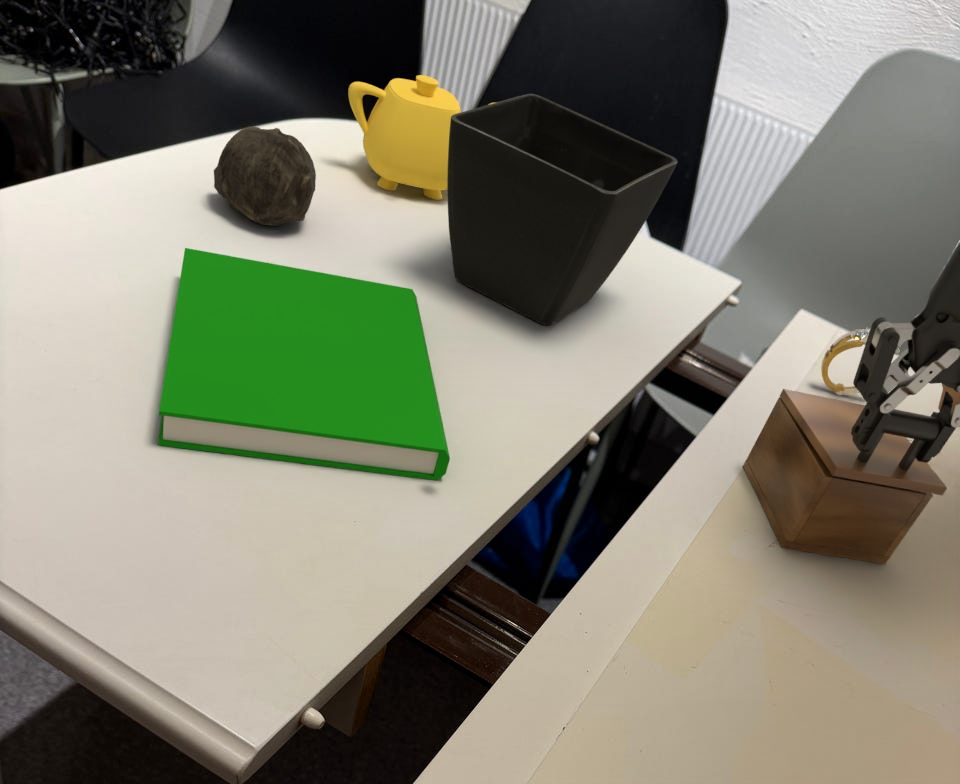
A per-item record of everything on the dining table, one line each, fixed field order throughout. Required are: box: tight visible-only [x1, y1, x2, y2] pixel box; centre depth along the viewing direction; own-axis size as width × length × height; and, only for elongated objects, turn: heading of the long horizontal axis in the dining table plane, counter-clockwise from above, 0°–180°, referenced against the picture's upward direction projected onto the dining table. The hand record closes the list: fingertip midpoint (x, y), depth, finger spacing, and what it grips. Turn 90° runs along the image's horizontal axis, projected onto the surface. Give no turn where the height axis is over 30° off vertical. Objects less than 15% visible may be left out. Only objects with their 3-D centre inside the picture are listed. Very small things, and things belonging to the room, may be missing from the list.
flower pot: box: [446, 93, 678, 326], centre depth 106 cm, size 19×19×17 cm
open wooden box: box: [742, 396, 934, 565], centre depth 89 cm, size 13×11×8 cm
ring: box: [820, 326, 871, 396], centre depth 110 cm, size 7×3×8 cm, turn 82°
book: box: [157, 247, 451, 481], centre depth 86 cm, size 22×28×3 cm
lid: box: [779, 388, 948, 496], centre depth 84 cm, size 14×11×6 cm
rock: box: [213, 125, 317, 227], centre depth 105 cm, size 10×11×10 cm
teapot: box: [347, 74, 498, 201], centre depth 123 cm, size 13×20×12 cm
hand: (889, 450), depth 81 cm, fingers closed on lid, 5 cm apart
